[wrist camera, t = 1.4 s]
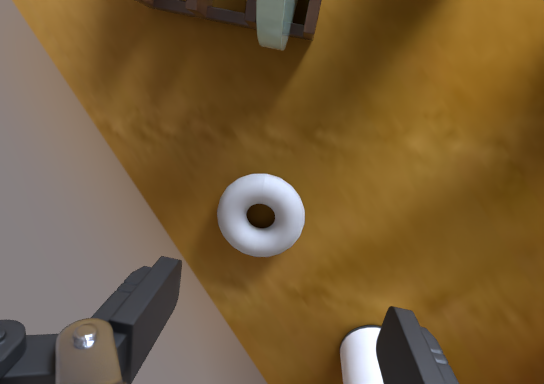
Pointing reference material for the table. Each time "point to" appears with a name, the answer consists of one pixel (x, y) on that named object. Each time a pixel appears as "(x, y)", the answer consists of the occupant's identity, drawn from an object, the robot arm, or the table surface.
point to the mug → (360, 356)
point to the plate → (274, 22)
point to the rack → (234, 14)
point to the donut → (270, 194)
